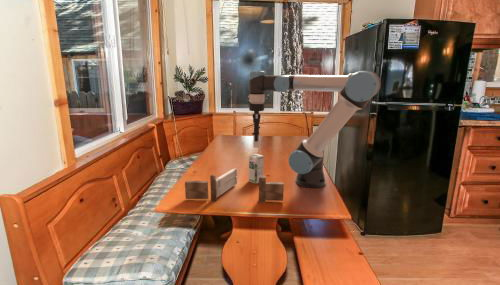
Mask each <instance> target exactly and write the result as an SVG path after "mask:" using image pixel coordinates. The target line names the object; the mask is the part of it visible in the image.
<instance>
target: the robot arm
mask: <svg viewBox="0 0 500 285" xmlns="http://www.w3.org/2000/svg"><path fill="white" fill-rule="evenodd" d="M248 83H249V85H248V86H249V92H248V93H249V95H248V96H247V98H249V99H248V100H249V101H248V102H250V103H248V110H249V111H250V112H253V113H252V123H253V132H252V136H253V141H252V142H253V146H252V147H253V148H255V149H256V148H260V129H261V126H260V123H261V117H262V116H261V115H262V114H261V113H260V112H264V111H265V96H266V95H265V92H277V93H282V92H283V93H286V92H287V91H304V92H305V91H307V92H311V91H312V92H331V93H333V92H334V93H335V92H337V93H339V99H337V102H336V103H335V104H334V105H333V107H332V108H330V110H329V111H328V113H327V114H326V116H325V117H324V118H323V120H322V121H321V122H320V123H319V125H318V126H317V127H316V129H314V131H313V132H312V134H311V135H310V136H309V138H307V139H301V142H300V144H299V145H298V146H297V147H296V149H295V150H293V151H292V152H291V153H290V154H289V155H288V166H289V167H290V169H291V170H292V171H293V172H294V173H296V174H297V175H296V179H295V181H296V183H297V185H299V186H302V187H305V188H311V189H312V188H313V189H319V188H322V187H324V186H326V177H325V173H324V169H323V168H324V157H325V149H326V148H327V146H328V145H329V144H330V143H331V142H332V141H333V139H334V138H335V137H336V136H337V134H339V132H340V131H341V130H342V129H343V127H344V126H345V125H346V124H347V122H348V121H349V120H350V119H351V118H352V116H353V115H354V114H355V113H356V112H357V111H359V110H363V109H364V108H365V107H366V106H367V104H368V103H369V102H370V101H371V100H372V98H374V96H376V95H377V94H378V93H379V91H380V89H381V86H382V81H381V78H380V76H379V75H378V74H377V73H376V72H374V71H370V70H358V71H356V72H350V73H349V74H347V75H344V74H343V75H342V74H340V75H339V74H338V75H333V74H331V75H330V74H329V75H328V74H326V75H325V74H323V75H322V74H321V75H320V74H316V75H315V74H311V75H310V74H282V75H281V74H278V75H277V74H276V75H275V74H273V75H270V74H269V75H266V72H265V71H264V70H251V71H250V72H249V80H248Z"/></svg>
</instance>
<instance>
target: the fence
mask: <svg viewBox="0 0 500 285" xmlns="http://www.w3.org/2000/svg"><path fill="white" fill-rule="evenodd" d="M209 177H210V201H211V202H212V203H213V202H216V201H217V197H216V179H217V175H216V174H210V176H209ZM284 186H285V183H284V182H280V181H279V182H275V181H272V182H269V181H267V176H266V175H265V174H263V175H259V183H258V203H259V204H265V203H266V201H271V202H272V201H273V202H282V201H284V193H285V192H284V189H285V188H284ZM184 190H185V191H184V192H185V194H184V195H185V199H186V200H208V199H209V181H208V180H185V182H184Z"/></svg>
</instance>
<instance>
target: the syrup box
mask: <svg viewBox="0 0 500 285" xmlns="http://www.w3.org/2000/svg"><path fill="white" fill-rule="evenodd" d="M264 158H265V157H264V155H262V154H258V153H251V154H250V155H248V182H250V183H253V184H255V185H256V184H257V185H258V184H259V175H264Z"/></svg>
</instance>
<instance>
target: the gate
mask: <svg viewBox="0 0 500 285" xmlns="http://www.w3.org/2000/svg"><path fill="white" fill-rule="evenodd" d="M237 176H238V169H237V168H235V167H234V168H232V169H230V170H228V171H227V172H225V173H224V174H222V175H220V176H218V177H216V198H218V197H220V196H221V195H222V194H224V193H225V192H227V191H228V190H230V189H231V188H232V187H234V186H235V185H237V184H238V177H237Z"/></svg>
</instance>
